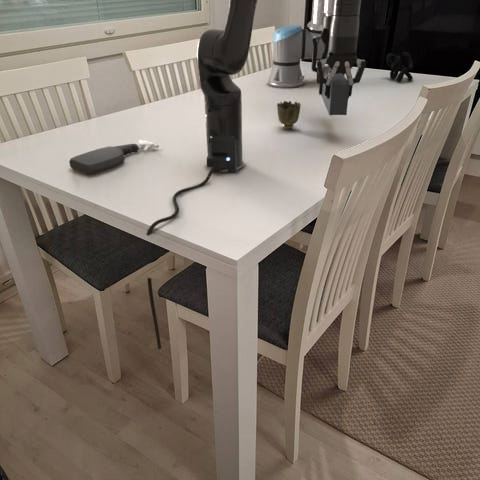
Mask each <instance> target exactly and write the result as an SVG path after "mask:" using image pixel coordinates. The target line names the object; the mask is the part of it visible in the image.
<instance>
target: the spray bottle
mask: <svg viewBox="0 0 480 480" xmlns="http://www.w3.org/2000/svg"><path fill="white" fill-rule="evenodd" d="M159 148H160V145H159V144H158V143H155V142H151V141H148V140H144V139H139V140H138V141H137V142H135V143H129V144H128V143H126V144H122V145H113V146H105V147H100V148H97V149H94V150H90V151H87V152H83V153H81V154H78V155H74V156H73V157H70V159H69V161H68V162H69V167H70V168H71V169H72V170H74V171H75V172H78V173H81V174H83V175H85V176H89V177H90V176H91V177H92V176H95V175H99V174H102V173H105V172H107V171H110V170H113V169H116V168H118V167H120V166H122V165H123V164H124V163H125V158H126V156H127V155H131V154H133V153H138V151H140V150H143V151H144V152H146V151H147V150H149V149H159Z"/></svg>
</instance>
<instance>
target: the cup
mask: <svg viewBox="0 0 480 480" xmlns="http://www.w3.org/2000/svg"><path fill="white" fill-rule="evenodd" d="M301 106H302V104H301V102H297V101H295V102H294V103H292V101H291V100H289V101H287V100H284V101H283V102H282V101H280V102H278V103H277V104H276V108H277V109H276V110H277V118H278V121H279V123H280V124H282V129H283V130H286V131H291V130H293V129H294V127H295V124H296V123H297V122H298V120H299V118H300V112H301Z"/></svg>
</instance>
